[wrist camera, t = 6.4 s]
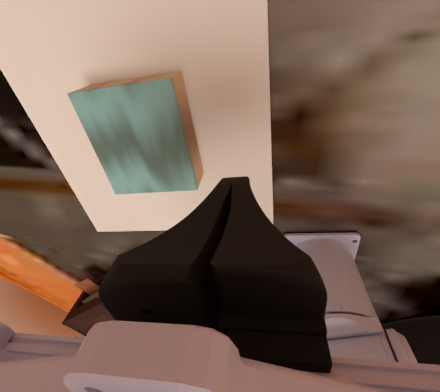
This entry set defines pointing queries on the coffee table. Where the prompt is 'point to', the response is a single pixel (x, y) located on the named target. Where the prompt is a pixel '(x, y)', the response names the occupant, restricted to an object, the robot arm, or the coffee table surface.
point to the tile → (142, 133)
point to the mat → (142, 67)
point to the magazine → (419, 336)
